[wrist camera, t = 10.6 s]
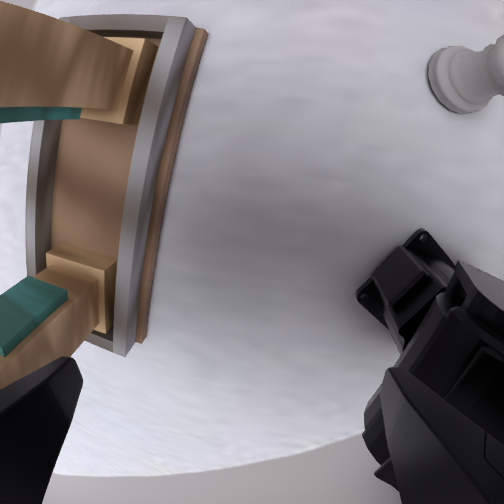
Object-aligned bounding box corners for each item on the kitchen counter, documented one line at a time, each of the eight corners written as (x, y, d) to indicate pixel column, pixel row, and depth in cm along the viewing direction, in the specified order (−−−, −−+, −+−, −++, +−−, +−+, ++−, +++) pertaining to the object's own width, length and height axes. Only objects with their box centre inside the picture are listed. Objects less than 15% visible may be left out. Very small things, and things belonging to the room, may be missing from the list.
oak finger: (117, 319, 23) (20, 446, 10) (65, 301, 23) (-40, 403, 11) (118, 259, 21) (-12, 379, 9) (61, 243, 21) (-71, 333, 9)
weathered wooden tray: (78, 27, 16) (-77, -14, 3) (208, 33, 16) (83, -93, 3) (46, 296, 24) (-60, 392, 11) (145, 336, 24) (59, 478, 11)
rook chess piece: (472, 126, 16) (552, 131, 9) (417, 94, 16) (488, 79, 9) (486, 70, 15) (562, 55, 7) (432, 37, 15) (498, 0, 7)
